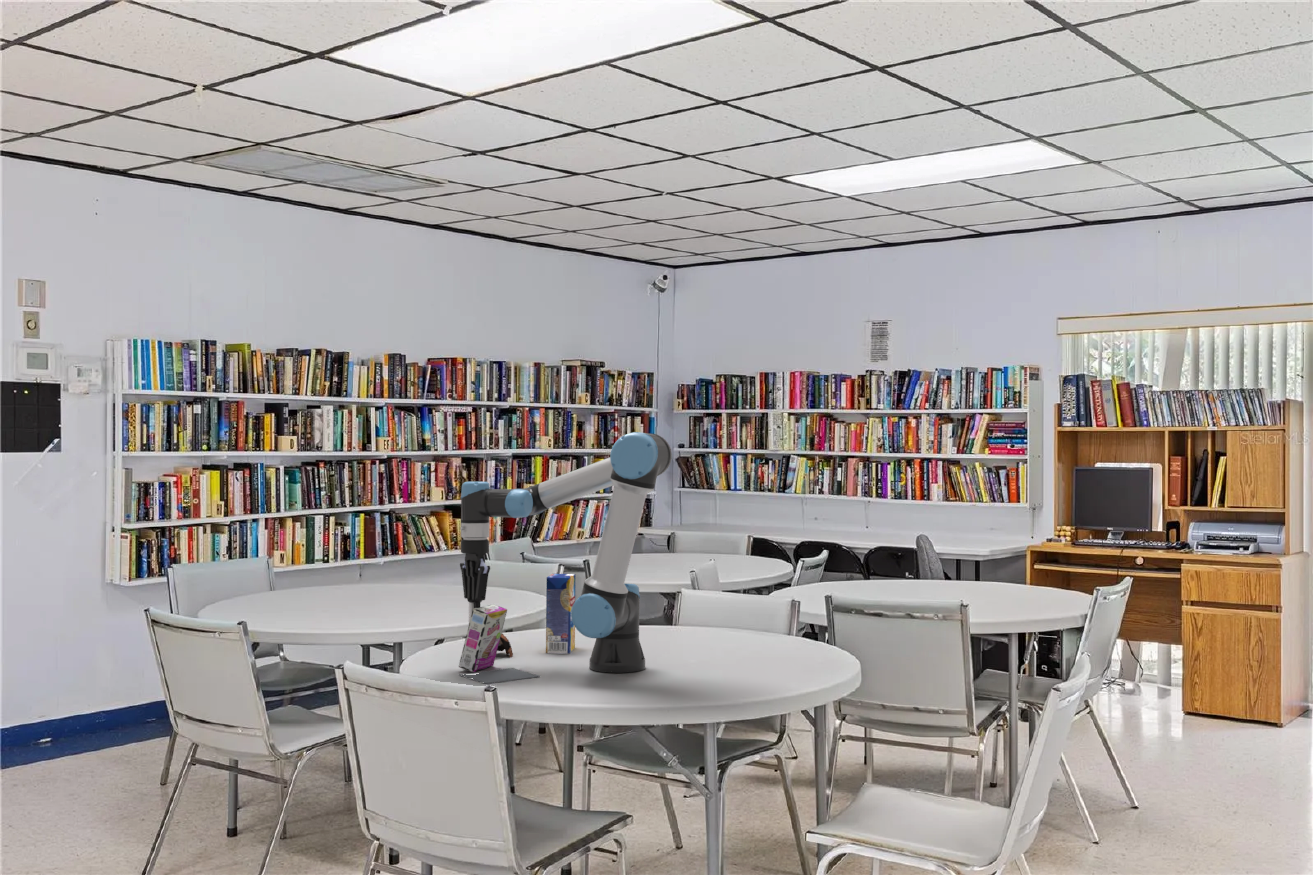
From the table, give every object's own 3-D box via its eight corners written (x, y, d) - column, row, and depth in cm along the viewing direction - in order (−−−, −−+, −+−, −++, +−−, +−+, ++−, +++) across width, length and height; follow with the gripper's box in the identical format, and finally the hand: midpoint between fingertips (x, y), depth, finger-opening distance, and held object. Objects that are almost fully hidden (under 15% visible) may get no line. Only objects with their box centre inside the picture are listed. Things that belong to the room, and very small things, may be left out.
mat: (540, 677, 294) (540, 675, 294) (485, 684, 284) (485, 683, 284) (512, 668, 305) (512, 667, 305) (459, 675, 295) (459, 674, 295)
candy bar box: (473, 673, 299) (487, 613, 297) (457, 667, 300) (471, 608, 299) (494, 666, 309) (508, 608, 308) (479, 660, 311) (492, 603, 310)
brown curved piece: (512, 661, 320) (498, 636, 318) (483, 674, 321) (469, 650, 320) (519, 643, 332) (505, 619, 330) (491, 656, 333) (477, 633, 331)
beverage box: (574, 647, 340) (575, 574, 341) (569, 653, 329) (569, 577, 330) (552, 647, 341) (553, 573, 341) (545, 653, 330) (546, 577, 330)
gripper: (451, 537, 309) (450, 624, 309) (474, 540, 299) (473, 630, 299) (475, 536, 314) (475, 622, 314) (499, 539, 304) (498, 627, 303)
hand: (474, 626), depth 306 cm, fingers closed
